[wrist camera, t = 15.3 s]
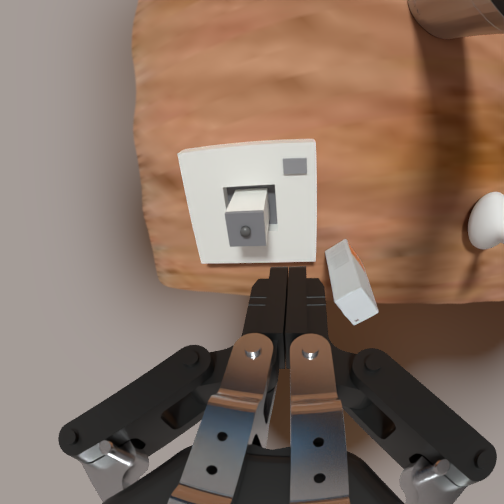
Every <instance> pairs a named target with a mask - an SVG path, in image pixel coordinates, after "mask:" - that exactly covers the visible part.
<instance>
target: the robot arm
mask: <svg viewBox="0 0 504 504" xmlns="http://www.w3.org/2000/svg"><path fill="white" fill-rule="evenodd" d="M408 5H409V8H410V11H411V13H412V15H413V16H414V18H415V19H416V21H417V22H418V23H419V24H420V25H421V27H423V28H424V29H425V30H426V31H427V32H429V33H430V34H432V35H434V36H436V37H438V38H441V39H453V38H460V37H468V36H477V35H488V34H504V0H408ZM285 360H286V366H287V367H286V368H287V369H290V408H291V441H290V442H291V443H290V447H286V448H281V449H275V450H269V449H266V444H267V438H268V427H269V422H270V417H271V412H272V408H273V403H274V398H275V392H276V388H277V381H278V373H279V369H285ZM342 408H343V409H344V410H345V411H346V412H347V413H348V414H349V415H350V416H351V417H352V418H353V419H354V420H355V421H356V422H357V423H358V424H359V426H360V427H361V428H363V430H365V432H366V433H367V434H368V435H370V437H371V438H372V439H374V440H375V441H376V442H377V443H378V444H379V445H380V446H381V447H382V448H383V449H384V450H385V451H386V452H387V453H388V454H389V455H390V456H391V457H392V458H393V459H394V460H395V461H396V462H397V463H398V464H399V465H400V466H401V467H403V468H404V470H403V472H402V473H401V476H400V487H401V489H402V490H403V492H404V493H405V496H406V504H453V503H454V502H455V500H456V499H457V498H458V497H459V496H460V494H461V493H462V492H463V491H464V489H465V488H466V487H467V486H468V485H471V484H474V483H476V482H479V481H481V480H483V479H485V478H486V477H487V476H489V475H490V473H491V472H492V471H493V469H494V467H495V464H496V458H497V455H496V450H495V448H494V446H493V445H492V444H491V443H490V442H488V441H487V440H486V439H485V438H484V437H483V436H481V435H480V434H479V433H478V432H477V431H476V430H475V429H474V428H472V427H471V426H470V425H469V424H468V423H467V422H465V421H464V420H463V419H462V418H461V417H460V416H459V415H457V414H456V413H455V412H454V411H453V410H451V408H449V407H448V406H447V405H446V404H445V403H444V402H442V401H441V400H440V399H439V398H438V397H437V396H435V395H434V394H433V393H432V392H431V391H430V390H428V389H427V388H426V387H425V386H424V385H423V384H421V383H420V382H419V381H418V380H417V379H416V378H414V377H413V376H412V375H411V374H410V373H409V372H407V371H406V370H405V369H404V368H403V367H401V366H400V365H399V364H398V363H397V362H395V361H394V360H393V359H392V358H391V357H390V356H388V355H387V354H386V353H385V352H383V351H381V350H379V349H373V348H370V349H365V350H362V351H361V352H359V353H358V354H353V353H349V352H345V351H342V350H340V349H338V348H337V347H335V346H334V345H333V344H332V343H331V341H330V340H329V337H328V328H327V315H326V301H325V290H324V286H323V284H322V283H321V281H320V280H319V278H306V266H299V267H289V277H288V267H271V268H270V276H269V279H258V280H257V282H256V283H255V284H254V285H253V287H252V290H251V295H250V300H249V306H248V309H247V314H246V319H245V324H244V329H243V333H242V336H241V337H240V338H239V339H238V340H237V341H236V342H235V344H234V345H233V346H232V347H230V348H227V349H224V350H220V351H215V352H208V351H207V349H205V348H204V347H202V346H199V345H189V346H186V347H184V348H182V349H181V350H179V351H178V352H176V353H175V354H173V355H172V356H170V357H169V358H167V359H166V360H165V361H163V362H162V363H160V364H159V365H157V366H156V367H154V368H153V369H151V370H150V371H148V372H147V373H145V374H144V375H142V376H141V377H139V378H138V379H136V380H135V381H133V382H132V383H130V384H129V385H127V386H126V387H124V388H123V389H121V390H120V391H118V392H117V393H115V394H113V395H112V396H110V397H109V398H107V399H106V400H104V401H103V402H101V403H100V404H98V405H96V406H95V407H93V408H91V409H90V410H88V411H87V412H85V413H83V414H82V415H80V416H79V417H77V418H76V419H74V420H72V421H71V422H69V423H67V424H66V425H64V427H62V429H61V431H60V433H59V445H60V447H61V449H62V450H63V452H64V453H66V454H67V455H69V456H71V457H73V458H75V459H77V460H78V461H80V462H81V463H82V465H83V467H84V469H85V471H86V473H87V475H88V477H89V479H90V481H91V482H92V484H93V486H94V487H95V489H96V491H97V493H98V495H99V496H100V498H101V500H102V501H103V503H102V504H404V503H403V502H402V501H401V500H400V499H399V498H398V496H396V495H395V493H394V492H393V491H392V490H391V489H390V488H389V487H388V486H387V485H386V484H385V483H384V482H383V481H382V480H381V479H380V478H379V477H378V476H377V474H376V473H375V472H374V471H373V470H372V469H371V468H370V467H369V466H368V465H367V464H366V463H365V462H364V461H363V460H362V459H361V458H359V457H357V456H356V455H354V454H352V453H350V452H348V451H347V450H346V438H345V428H344V418H343V409H342ZM200 420H201V423H200V426H199V429H198V432H197V434H196V437H195V440H194V443H193V445H192V446H190V447H187V448H185V449H183V450H182V451H180V452H179V453H177V454H176V455H174V456H173V457H172V458H171V459H169V460H168V461H166V462H165V463H163V464H162V465H160V466H159V467H158V468H156V469H155V470H153V471H152V472H151V473H149V474H147V475H146V476H144V477H143V478H141V479H139V477H140V476H141V475H143V474H144V473H145V472H146V471H147V469H148V466H149V459H148V456H150V455H151V454H153V453H155V452H156V451H158V450H159V449H161V448H162V447H164V446H165V445H167V444H168V443H170V442H171V441H172V440H174V439H175V438H177V437H178V436H179V435H181V434H183V433H184V432H185V431H187V430H188V429H189V428H191V427H192V426H194V425H195V424H196V423H198V422H199V421H200ZM138 479H139V480H138Z"/></svg>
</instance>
